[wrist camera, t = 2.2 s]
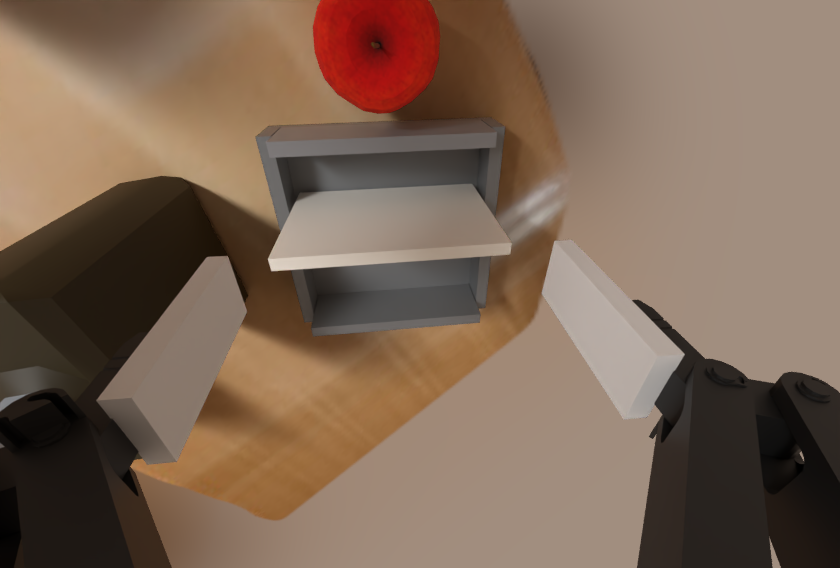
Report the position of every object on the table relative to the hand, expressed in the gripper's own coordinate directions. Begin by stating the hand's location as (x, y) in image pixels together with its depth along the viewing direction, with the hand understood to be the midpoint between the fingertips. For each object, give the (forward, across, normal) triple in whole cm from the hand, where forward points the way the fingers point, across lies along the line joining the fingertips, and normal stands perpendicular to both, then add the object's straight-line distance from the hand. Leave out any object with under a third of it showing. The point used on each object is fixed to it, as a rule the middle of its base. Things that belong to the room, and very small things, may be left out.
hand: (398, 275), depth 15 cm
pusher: (+23, 0, -7) cm, 24 cm away
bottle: (+24, -22, -11) cm, 34 cm away
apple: (+24, 0, +8) cm, 26 cm away
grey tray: (+24, 0, -8) cm, 26 cm away
